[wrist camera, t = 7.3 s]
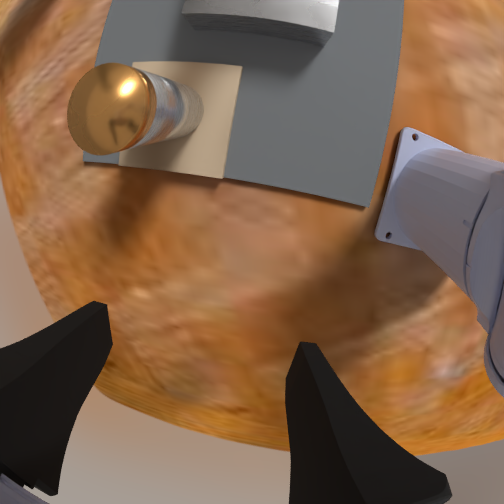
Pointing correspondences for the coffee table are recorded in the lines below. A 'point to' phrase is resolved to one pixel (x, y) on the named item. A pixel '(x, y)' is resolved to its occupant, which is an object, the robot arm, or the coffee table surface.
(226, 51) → the mat
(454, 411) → the coffee table surface
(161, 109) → the gold capped metal cylinder
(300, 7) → the block
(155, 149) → the cork pad
